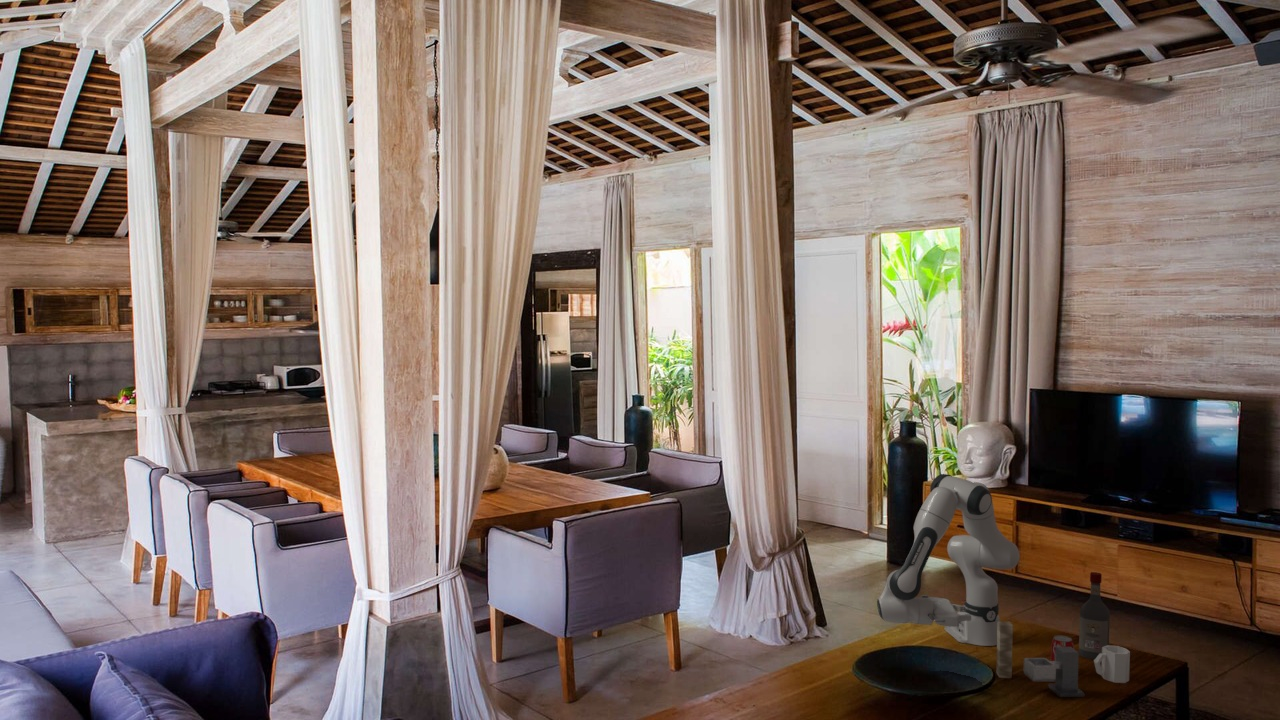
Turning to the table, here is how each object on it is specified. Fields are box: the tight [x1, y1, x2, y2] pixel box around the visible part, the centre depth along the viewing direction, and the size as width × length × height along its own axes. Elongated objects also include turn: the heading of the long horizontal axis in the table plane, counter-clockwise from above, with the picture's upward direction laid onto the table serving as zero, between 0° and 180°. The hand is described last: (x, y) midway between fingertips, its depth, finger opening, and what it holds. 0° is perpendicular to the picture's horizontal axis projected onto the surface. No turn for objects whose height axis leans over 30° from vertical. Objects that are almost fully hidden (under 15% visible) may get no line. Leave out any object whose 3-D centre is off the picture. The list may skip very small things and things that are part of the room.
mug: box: [1093, 644, 1131, 684], centre depth 318 cm, size 12×9×10 cm
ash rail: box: [995, 620, 1014, 679], centre depth 321 cm, size 4×4×18 cm
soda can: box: [1050, 634, 1075, 661], centre depth 324 cm, size 7×7×12 cm
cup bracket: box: [1023, 647, 1085, 698], centre depth 307 cm, size 17×8×14 cm, turn 92°
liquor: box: [1078, 571, 1111, 661], centre depth 339 cm, size 9×9×30 cm
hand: (968, 613), depth 322 cm, fingers open, 8 cm apart
